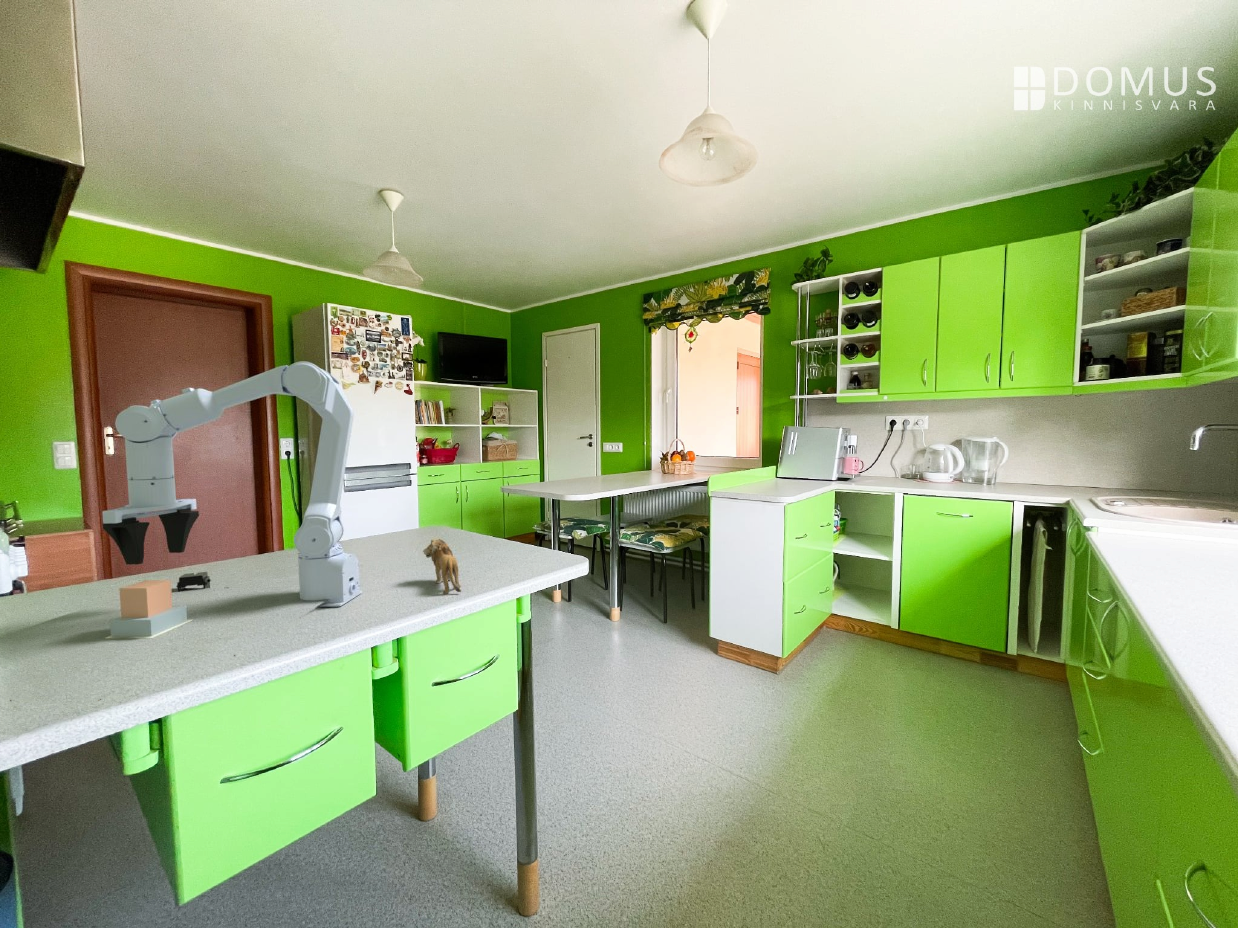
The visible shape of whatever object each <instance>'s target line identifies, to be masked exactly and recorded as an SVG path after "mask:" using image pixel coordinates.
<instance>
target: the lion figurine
mask: <svg viewBox="0 0 1238 928" xmlns="http://www.w3.org/2000/svg"><path fill="white" fill-rule="evenodd" d="M422 553H423V554H424V555H425V557H426V558H431V561H432V562H433V565H434V567H435V575H436V579H435V580H434V582H433V583H434V584H435V583H439V584H442V583H443V586H444V590H443V592H442V593H443V594H445V595H446V594H449V593H450V588H449V587H450V586H449V581H447V580H451V581H450V583H451V585H452V586H453V588H454V589H455V591H456V592H458V593H461V592H462V590H461V589H460V588H461V587H462V585H461V584H460V583H459V566H458V561H457V559H456V557H455V556H454V555H453V551H452V550H451V548H450V546H449V545H448V543H446V541H444V540H443V539H440V538H434V539H431V540H430V544H428V546H426V548H424V549H423V550H422ZM459 587H460V588H459Z"/></svg>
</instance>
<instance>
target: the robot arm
mask: <svg viewBox="0 0 1238 928" xmlns="http://www.w3.org/2000/svg"><path fill="white" fill-rule="evenodd" d="M181 392H182V393H181V394H179V395H175V396H172V397H169V398H166V399H163V400H160V399H154V400H151V401H150V405H149V406H144V405H131V406H128V407H127V408H125V409H124V410H121V411H120V412H119V414H117V416H116V418H115V429H116V431H117V433H118V434H119V436H122V437H123V438H124V445H125V447H124V448H125V460H126V461H125V462H126V477H127V491H128V504H126V505H124V506H123V507H117V508H114V509H109V510H102V529H103V530H104V531H105V532H106V533H107V534H108V535H109V536H110V538H111V539H112V540H113V541H114V543H115V544H116V546H117V547H118V549H119V551H120V553H121V555H122V558H123V559H124V561H125V565H142V564H143V563H144V560H145V559H144V558H145V540H146V539H145V538H146V535H147V531H148V528H149V526H150V524H151V523H150V522H149V521H143V522H140V520H139V519H142V518H143V519H144V518H148V517H149V518H150V517H154V516H158V517H159V520H160V521H161V523H162V525H163V526H162V527H163V529H164V532H165V537H166V545H167V550H168V552H169V554H178V553H179V554H180V553H181V554H182V553H184V552H185V549H186V545H187V542H188V538H189V535H190V532H191V530H192V528H193V526H194V525H195V522H196V521H197V519H198V518H199V516H200V512H199V510H197V499H196V498H183V499H177V497H176V496H177V495H176V481H175V463H174V462H175V461H174V450H173V449H174V448H173V440H174V438H175V437H176V436H177V434H179V433H183V432H186V431H189V430H191V429H195V428H196V427H197V428H198V427H200V426H202V425H206V424H208V423H211V422H214V421H217V420H219V419H221V417H222V415H223V413H224V411H225V410H226V409H229V408H232V407H235V406H237V405H242V404H244V403H248V402H250V401H255V400H257V399H260V398H264V397H266V396H270V395H284V396H293V397H294V396H295V397H297V398H298V399H301V400H302V401H304V402H305V403H307V404H309V405H310V407H311V408H312V409H313V410H314V411H315V412H316V413H317V414H318V415H319V416H320V417H321V419H322V421H321V426H320V434H319V439H318V446H317V452H316V459H315V465H314V472H313V478H312V483H311V490H310V491H311V492H310V498H309V503H308V505H307V507H306V510H305V513H304V515H303V520H302V523H301V526H299V528H298V529H297V531H296V532H295V535H294V538H293V543H294V544H293V545H294V547H295V549H296V550H297V551H298V553H297V557H298V559H297V560H298V562H297V563H298V580H299V581H298V584H299V586H298V587H299V598H300V599H301V600H303V601H320V600H321V601H322V600H325V601H324V602H322V603H320V604H318V605H317V606H316V607H322V608H323V607H328V608H329V607H341V606H344V605H345V604H346V603H348V602H349V601H351V600H353V599H354V598H356V597H357V596H359V595H361V594H363V590H362V589H361V582H360V581H361V580H360V579H361V578H360V576H361V575H360V561H359V558H358V557H357V555H355V554H354V553H346V552H344V547H342V545H341V544H340V543H339V542H340V541H341V539H342V538H343V536H344V532H345V530H344V529H345V528H344V525H343V523H342V519H341V517H342V516H341V515H342V508H341V498H342V492H343V485H344V479H345V472H346V467H347V459H348V454H349V447H350V441H351V437H352V435H351V434H352V429H353V422H354V415H355V414H354V412H355V411H354V409H353V408H352V405H351V404H350V402H349V399H348V398H347V396H346V394H345V392H344V390H343V387H342V385H341V383H340V382H339V380H337V378H336V377H334V376H333V375H332V374H331V373H330V372H328V371H327V370H325V369H322V368H320V367H319V366H318V365H316V364H314V363H313V362H310V361H297V362H294V363H292V364H290V365H287V364H286V365H280V366H277V367H274V368H272V369H269V370H266V371H263V372H262V373H259V374H256V375H253V376H250V377H249V378H246V379H244V380H240V381H238V382H235V383H232V384H230V385H228V386H225V387H222V388H220V389H217V390H214V391H210V390H207V389H204V388H201V387H200V388H199V387H198V388H197V389H195V388H193V387H187V388H184V389H181Z"/></svg>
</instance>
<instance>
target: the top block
mask: <svg viewBox="0 0 1238 928" xmlns="http://www.w3.org/2000/svg"><path fill="white" fill-rule="evenodd" d="M118 590H119V603H120V616H121V618H142V617H151V616H153V615H156V614H158V613H161V612H163V611H166V610H168V609H171V608H172V606H173V597H172V593H173V592H172V582H171V580H169V579H168V580H167V579H164V580H163V579H162V580H161V579H158V580H154V579H153V580H152V579H151V580H149V579H148V580H141V581H139V582H136V583H133V584H128V585H126V586H123V587H119V589H118Z"/></svg>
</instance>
